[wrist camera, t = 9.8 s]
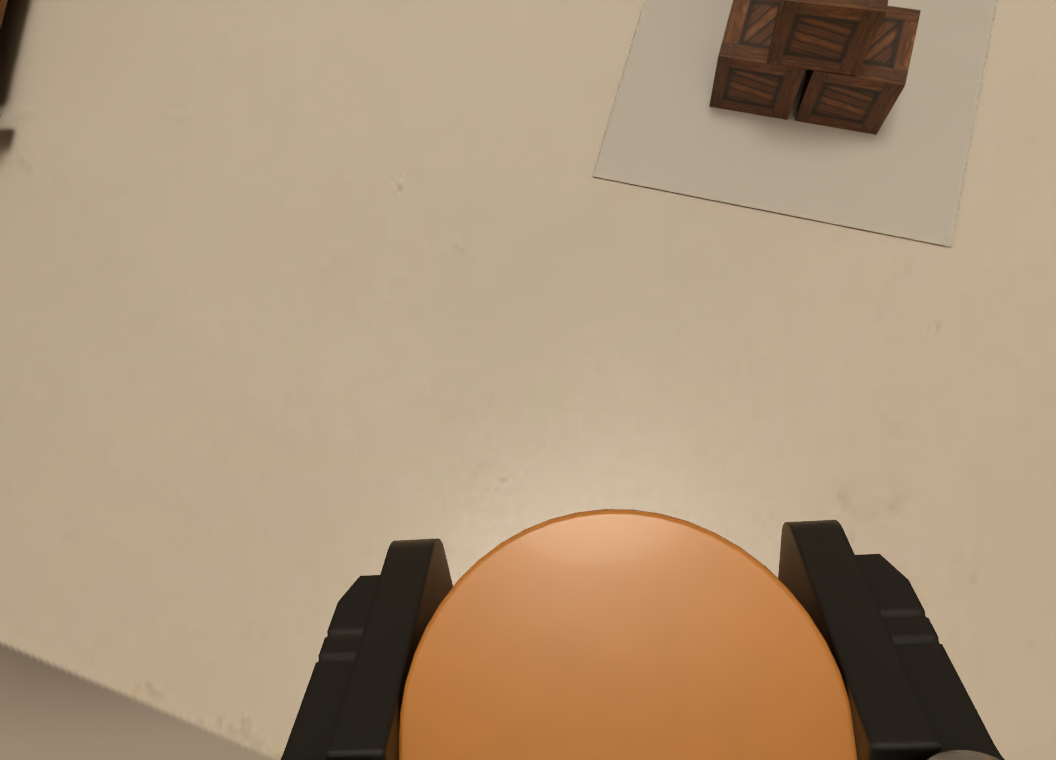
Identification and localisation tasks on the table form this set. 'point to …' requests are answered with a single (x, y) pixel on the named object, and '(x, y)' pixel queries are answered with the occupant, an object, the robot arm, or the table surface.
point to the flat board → (805, 107)
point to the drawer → (2, 10)
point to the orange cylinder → (623, 653)
